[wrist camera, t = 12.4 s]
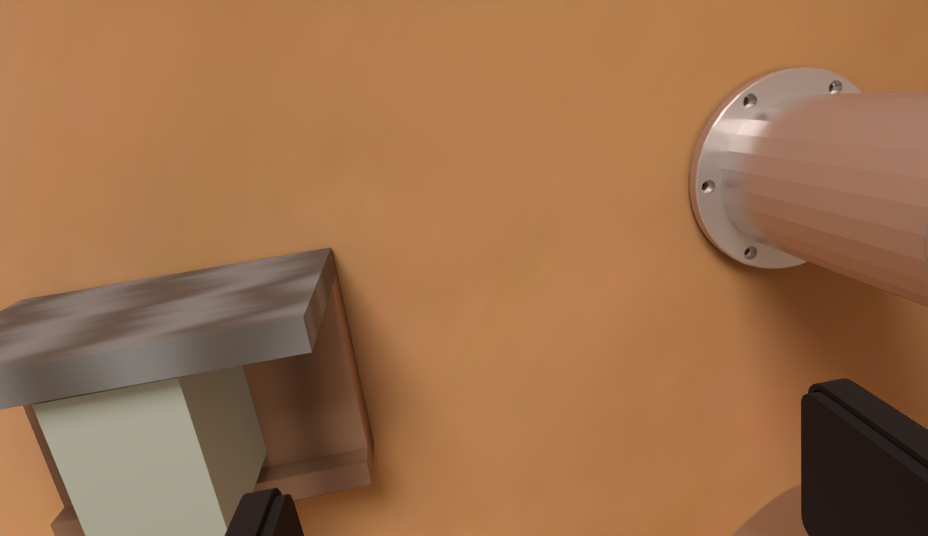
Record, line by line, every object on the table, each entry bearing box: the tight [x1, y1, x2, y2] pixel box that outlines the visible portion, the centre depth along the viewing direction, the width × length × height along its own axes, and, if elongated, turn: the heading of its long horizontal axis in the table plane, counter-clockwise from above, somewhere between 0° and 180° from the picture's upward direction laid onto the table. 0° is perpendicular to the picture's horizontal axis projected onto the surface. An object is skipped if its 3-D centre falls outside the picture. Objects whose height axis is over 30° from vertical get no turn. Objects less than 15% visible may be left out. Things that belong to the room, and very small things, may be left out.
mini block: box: [32, 365, 267, 536], centre depth 30 cm, size 6×9×8 cm, turn 9°
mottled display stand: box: [0, 248, 374, 536], centre depth 31 cm, size 18×14×12 cm
